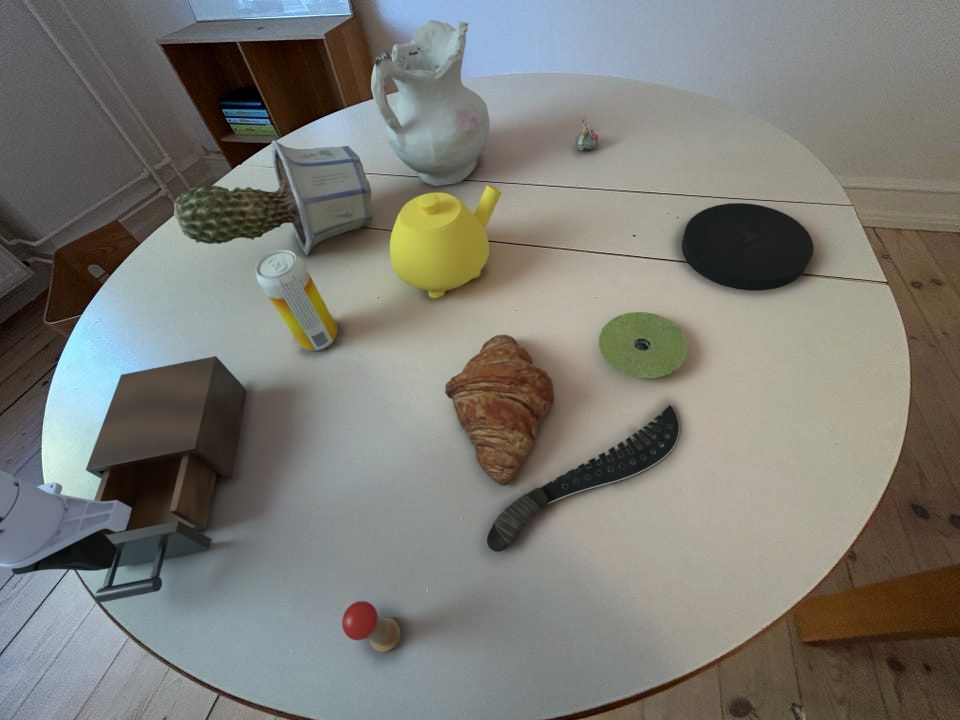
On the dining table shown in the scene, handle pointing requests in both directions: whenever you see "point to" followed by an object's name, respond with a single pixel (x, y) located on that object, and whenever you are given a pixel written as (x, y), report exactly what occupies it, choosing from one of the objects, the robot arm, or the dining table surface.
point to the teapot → (441, 241)
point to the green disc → (643, 345)
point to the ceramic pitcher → (432, 105)
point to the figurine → (586, 138)
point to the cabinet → (172, 417)
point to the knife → (539, 498)
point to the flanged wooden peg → (385, 635)
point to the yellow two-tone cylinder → (296, 299)
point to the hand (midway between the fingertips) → (107, 558)
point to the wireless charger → (747, 246)
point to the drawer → (156, 516)
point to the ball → (360, 620)
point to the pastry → (501, 404)
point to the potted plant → (284, 200)
